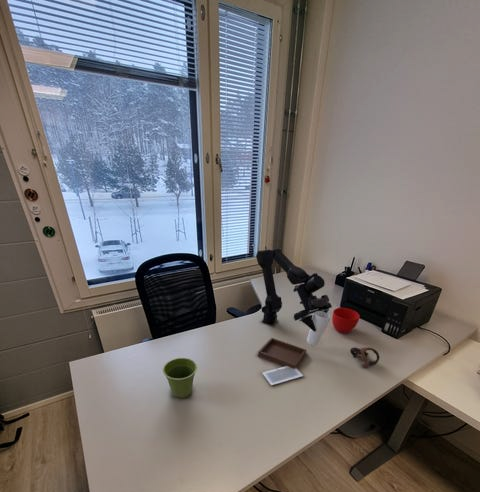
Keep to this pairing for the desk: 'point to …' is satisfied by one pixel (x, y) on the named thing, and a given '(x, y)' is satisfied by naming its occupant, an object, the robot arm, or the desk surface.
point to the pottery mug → (364, 356)
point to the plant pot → (180, 376)
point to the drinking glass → (318, 327)
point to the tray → (282, 353)
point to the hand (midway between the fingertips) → (320, 329)
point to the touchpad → (281, 374)
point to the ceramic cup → (345, 319)
